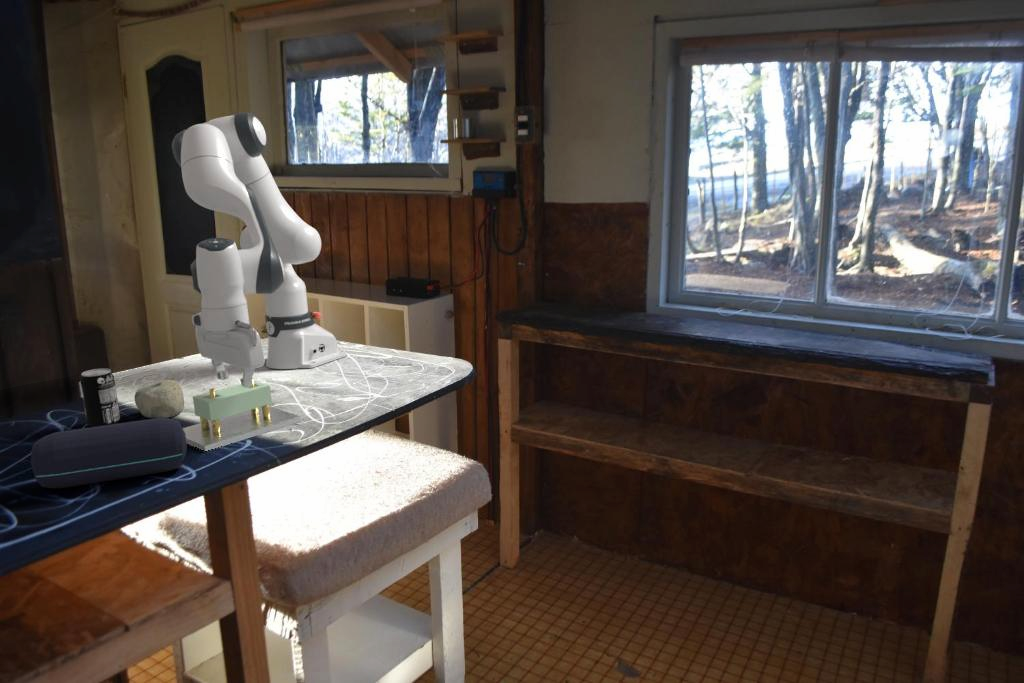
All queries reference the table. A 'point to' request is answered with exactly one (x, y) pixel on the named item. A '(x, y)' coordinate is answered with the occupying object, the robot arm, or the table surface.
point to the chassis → (237, 426)
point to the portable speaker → (108, 452)
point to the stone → (160, 399)
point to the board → (231, 401)
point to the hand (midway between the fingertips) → (234, 382)
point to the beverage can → (100, 397)
